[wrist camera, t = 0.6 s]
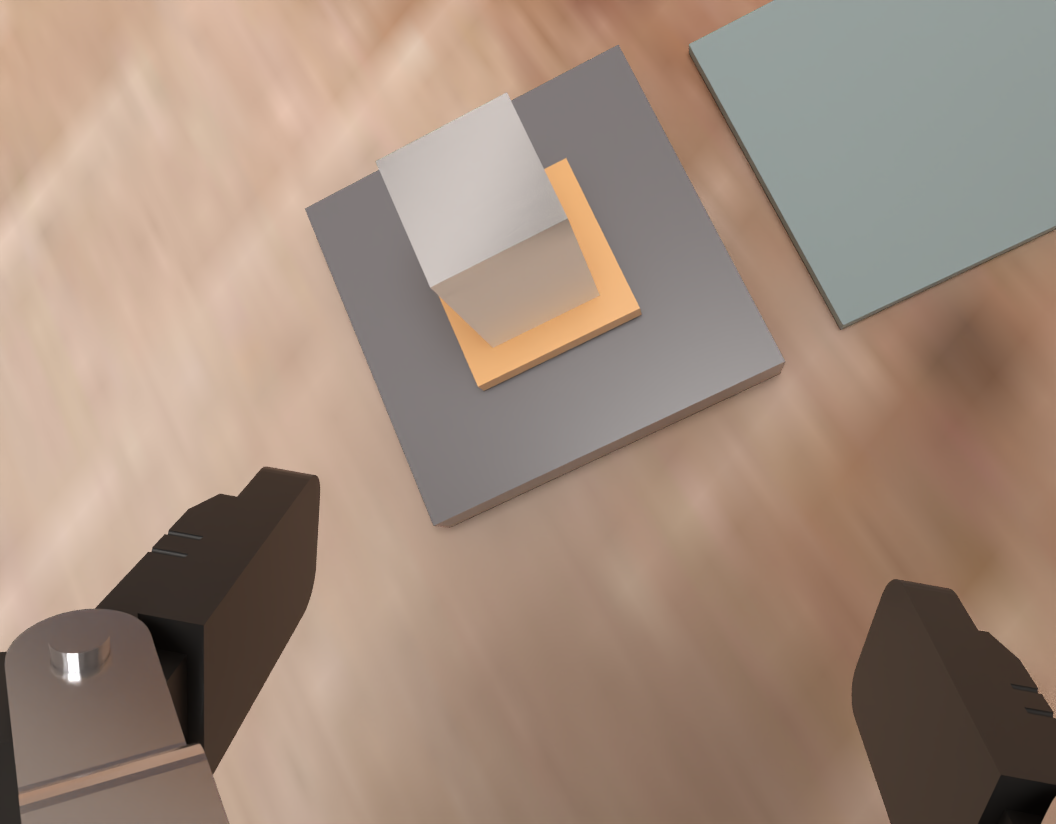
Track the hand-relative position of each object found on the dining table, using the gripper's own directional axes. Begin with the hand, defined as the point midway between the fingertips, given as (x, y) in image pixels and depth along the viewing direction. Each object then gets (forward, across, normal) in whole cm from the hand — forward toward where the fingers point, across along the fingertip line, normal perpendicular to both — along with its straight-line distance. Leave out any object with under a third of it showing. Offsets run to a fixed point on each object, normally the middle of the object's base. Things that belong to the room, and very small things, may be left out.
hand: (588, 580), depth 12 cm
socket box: (+21, +2, +2) cm, 22 cm away
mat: (+24, -10, -6) cm, 26 cm away
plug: (+22, +2, +2) cm, 22 cm away
